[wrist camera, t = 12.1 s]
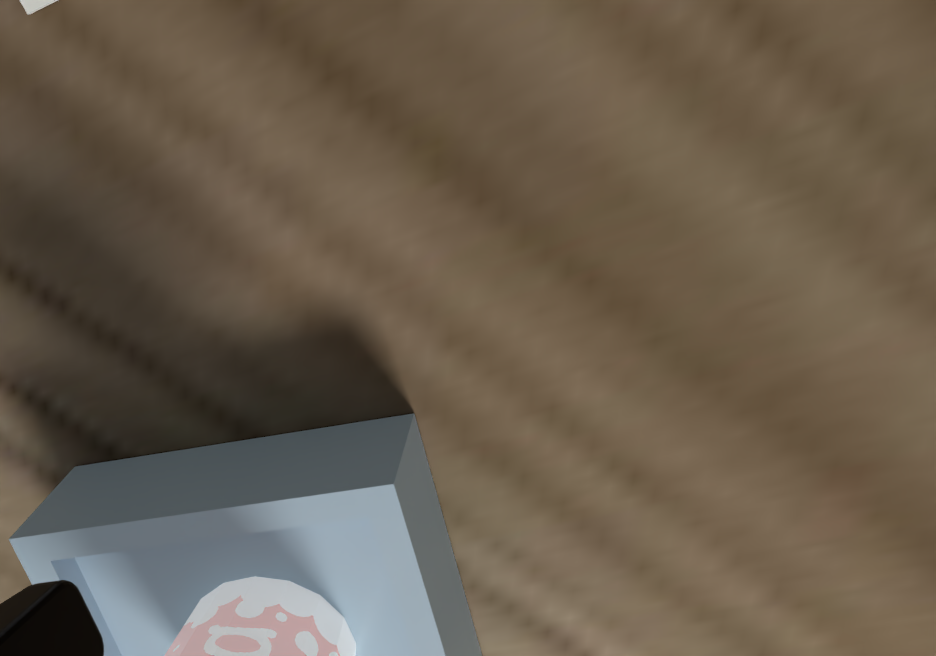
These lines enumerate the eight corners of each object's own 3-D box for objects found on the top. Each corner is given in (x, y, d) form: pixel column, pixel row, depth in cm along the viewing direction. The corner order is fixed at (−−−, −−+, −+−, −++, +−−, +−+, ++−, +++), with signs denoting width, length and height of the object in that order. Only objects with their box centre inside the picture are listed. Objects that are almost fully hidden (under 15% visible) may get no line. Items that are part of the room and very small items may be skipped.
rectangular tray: (414, 413, 23) (393, 483, 20) (493, 694, 27) (485, 789, 24) (74, 466, 25) (8, 539, 22) (193, 724, 29) (151, 816, 26)
